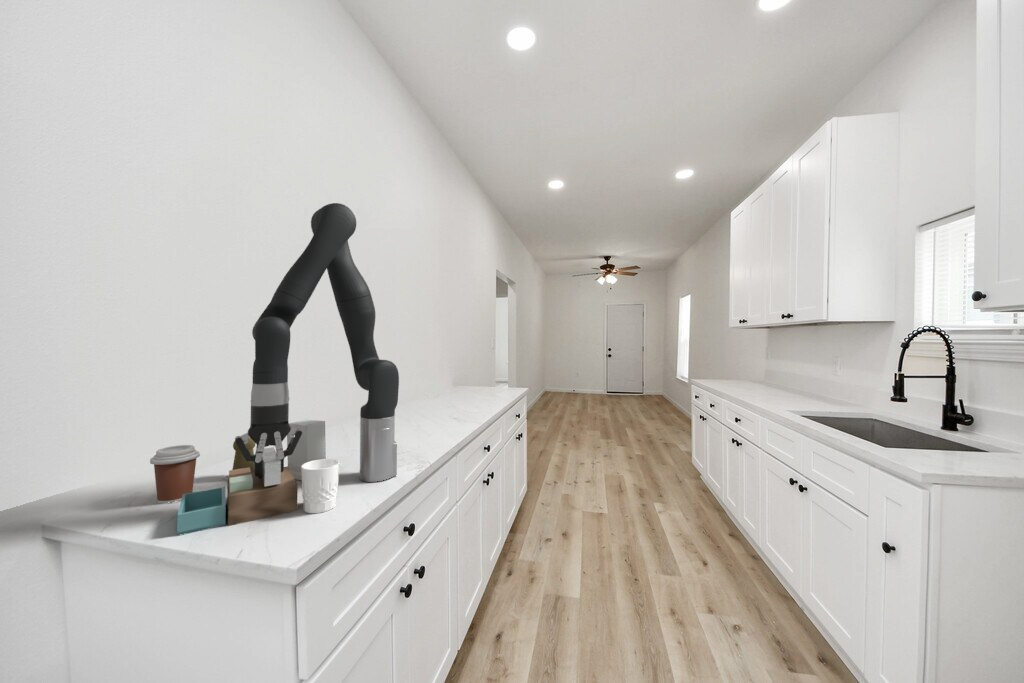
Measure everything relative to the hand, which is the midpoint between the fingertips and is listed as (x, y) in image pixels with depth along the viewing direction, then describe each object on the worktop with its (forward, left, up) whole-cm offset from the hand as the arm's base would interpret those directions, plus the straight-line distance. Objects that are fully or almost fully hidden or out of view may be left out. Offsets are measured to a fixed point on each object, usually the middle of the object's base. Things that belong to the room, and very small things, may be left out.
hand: (269, 475), depth 89 cm
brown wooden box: (+1, 0, -7) cm, 7 cm away
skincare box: (-10, -16, -7) cm, 20 cm away
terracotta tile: (+5, -3, -1) cm, 6 cm away
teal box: (+12, 0, -7) cm, 14 cm away
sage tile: (+5, +3, -1) cm, 6 cm away
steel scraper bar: (0, 0, 0) cm, 0 cm away
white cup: (-9, +9, -7) cm, 15 cm away
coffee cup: (+18, -18, -7) cm, 26 cm away
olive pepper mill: (+4, -26, -7) cm, 27 cm away
